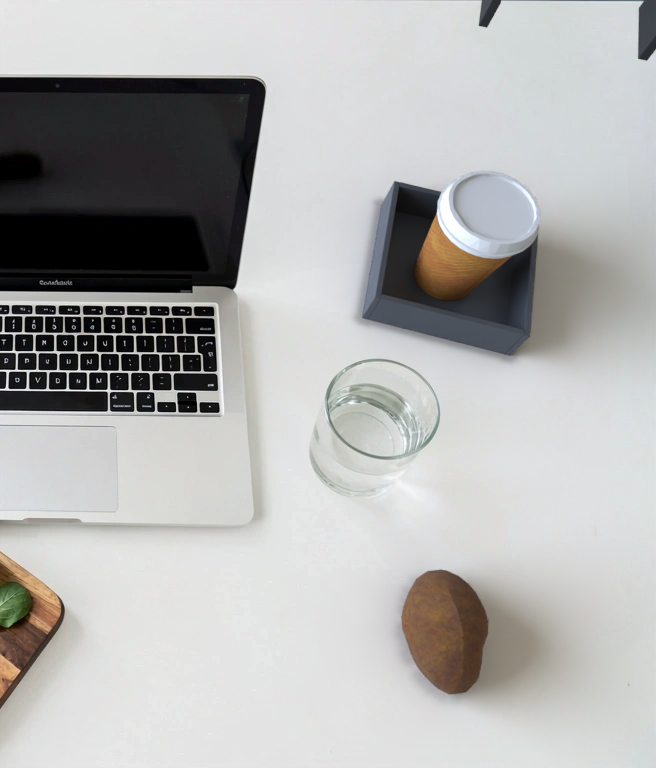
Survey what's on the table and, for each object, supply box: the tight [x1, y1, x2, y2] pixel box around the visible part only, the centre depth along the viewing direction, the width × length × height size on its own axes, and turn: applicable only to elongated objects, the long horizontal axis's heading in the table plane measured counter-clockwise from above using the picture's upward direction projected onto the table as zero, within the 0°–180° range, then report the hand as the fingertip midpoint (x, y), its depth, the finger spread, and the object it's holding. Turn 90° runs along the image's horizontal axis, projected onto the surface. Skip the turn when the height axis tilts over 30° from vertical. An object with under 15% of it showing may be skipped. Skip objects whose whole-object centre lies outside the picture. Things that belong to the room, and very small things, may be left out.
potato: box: [400, 569, 489, 695], centre depth 77 cm, size 7×10×7 cm
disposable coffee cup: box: [414, 170, 541, 301], centre depth 90 cm, size 10×10×12 cm
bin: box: [361, 180, 539, 357], centre depth 94 cm, size 15×15×5 cm
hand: (569, 31), depth 78 cm, fingers open, 13 cm apart
